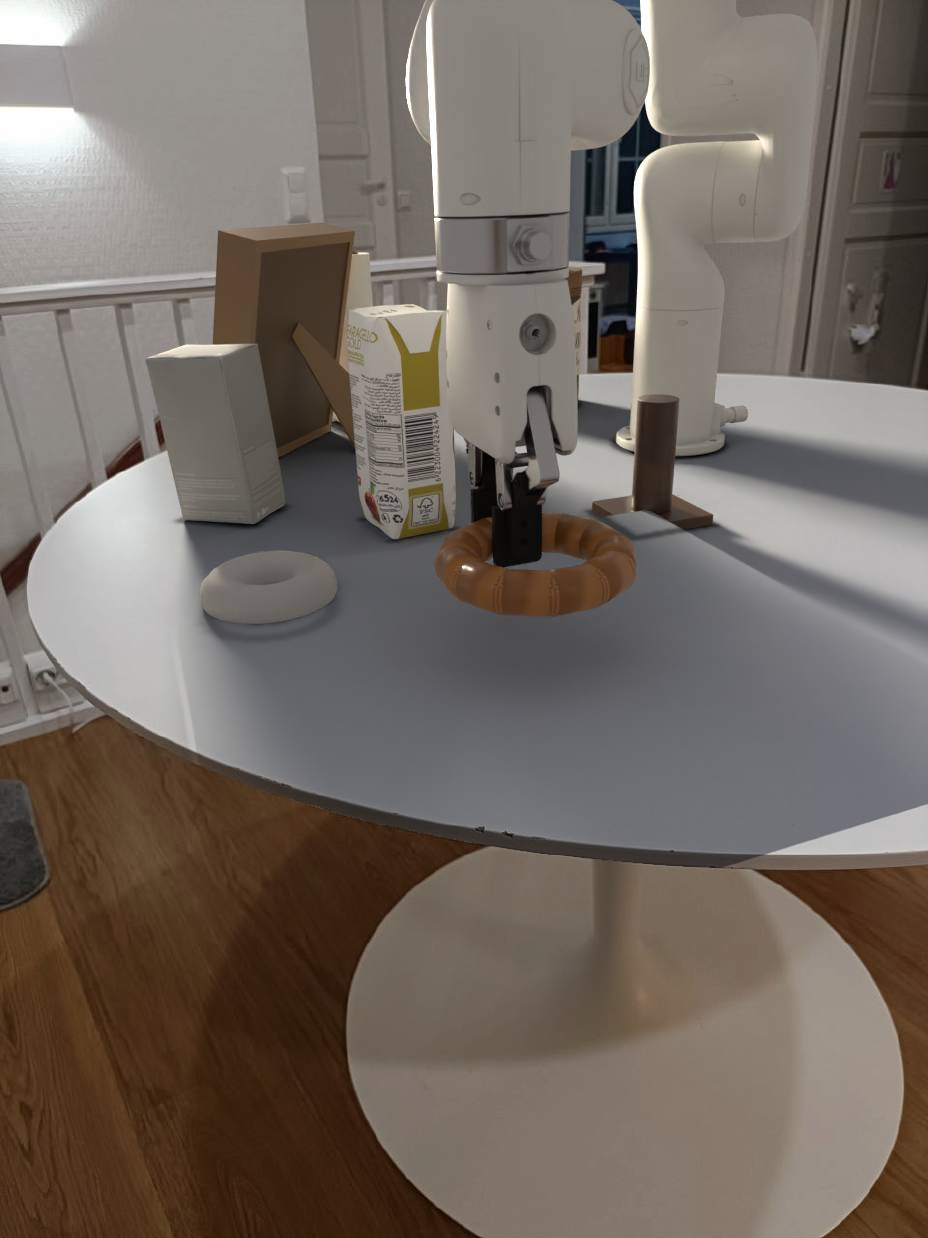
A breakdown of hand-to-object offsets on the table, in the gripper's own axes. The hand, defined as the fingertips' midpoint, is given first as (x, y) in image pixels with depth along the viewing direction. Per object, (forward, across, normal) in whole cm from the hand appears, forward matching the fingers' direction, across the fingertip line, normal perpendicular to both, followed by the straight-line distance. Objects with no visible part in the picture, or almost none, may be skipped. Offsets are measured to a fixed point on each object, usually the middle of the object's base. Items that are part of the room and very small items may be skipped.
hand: (506, 550), depth 58 cm
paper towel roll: (+7, +69, -7) cm, 70 cm away
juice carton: (+7, +25, -1) cm, 26 cm away
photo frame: (+7, +54, +2) cm, 55 cm away
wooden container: (+8, +67, -32) cm, 75 cm away
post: (+7, +17, -22) cm, 28 cm away
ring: (-1, -5, 0) cm, 5 cm away
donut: (+6, +11, +14) cm, 19 cm away
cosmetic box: (+7, +35, +14) cm, 38 cm away
